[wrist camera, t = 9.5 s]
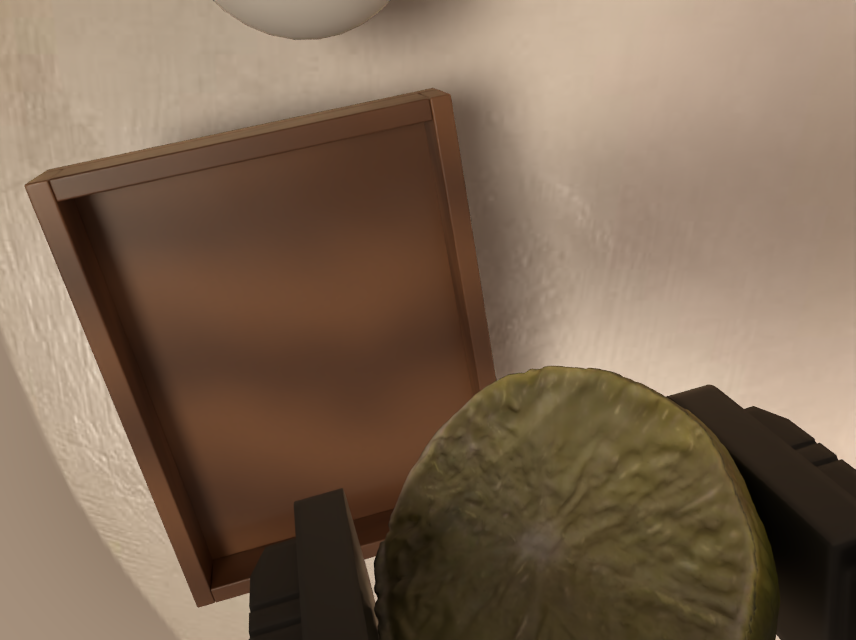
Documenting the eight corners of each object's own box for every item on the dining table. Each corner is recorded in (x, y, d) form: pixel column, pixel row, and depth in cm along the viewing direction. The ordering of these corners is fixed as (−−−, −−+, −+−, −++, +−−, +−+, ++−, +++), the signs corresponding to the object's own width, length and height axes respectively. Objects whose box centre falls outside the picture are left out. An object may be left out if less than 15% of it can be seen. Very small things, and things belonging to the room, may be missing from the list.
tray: (91, 139, 26) (23, 184, 18) (399, 74, 27) (450, 93, 20) (212, 472, 31) (197, 608, 24) (461, 405, 33) (518, 515, 25)
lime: (345, 579, 12) (396, 928, 7) (413, 300, 10) (535, 524, 6) (591, 591, 13) (768, 897, 8) (686, 344, 11) (966, 557, 7)
